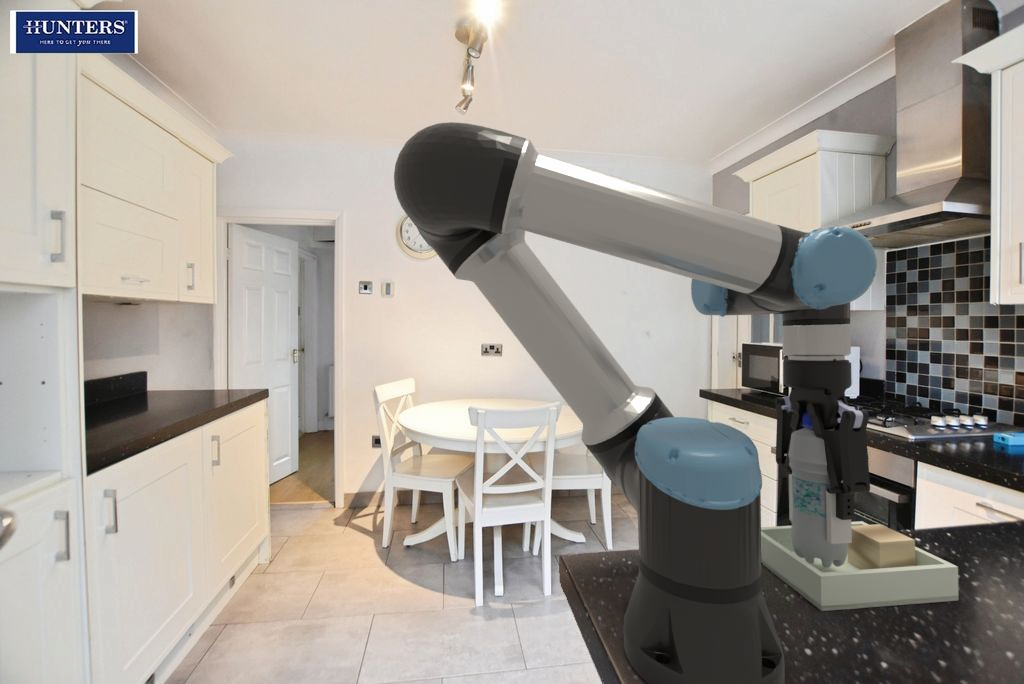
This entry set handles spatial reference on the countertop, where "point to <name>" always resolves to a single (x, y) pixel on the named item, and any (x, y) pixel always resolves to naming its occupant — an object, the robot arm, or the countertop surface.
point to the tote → (858, 577)
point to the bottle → (811, 498)
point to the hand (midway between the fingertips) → (818, 530)
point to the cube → (880, 548)
